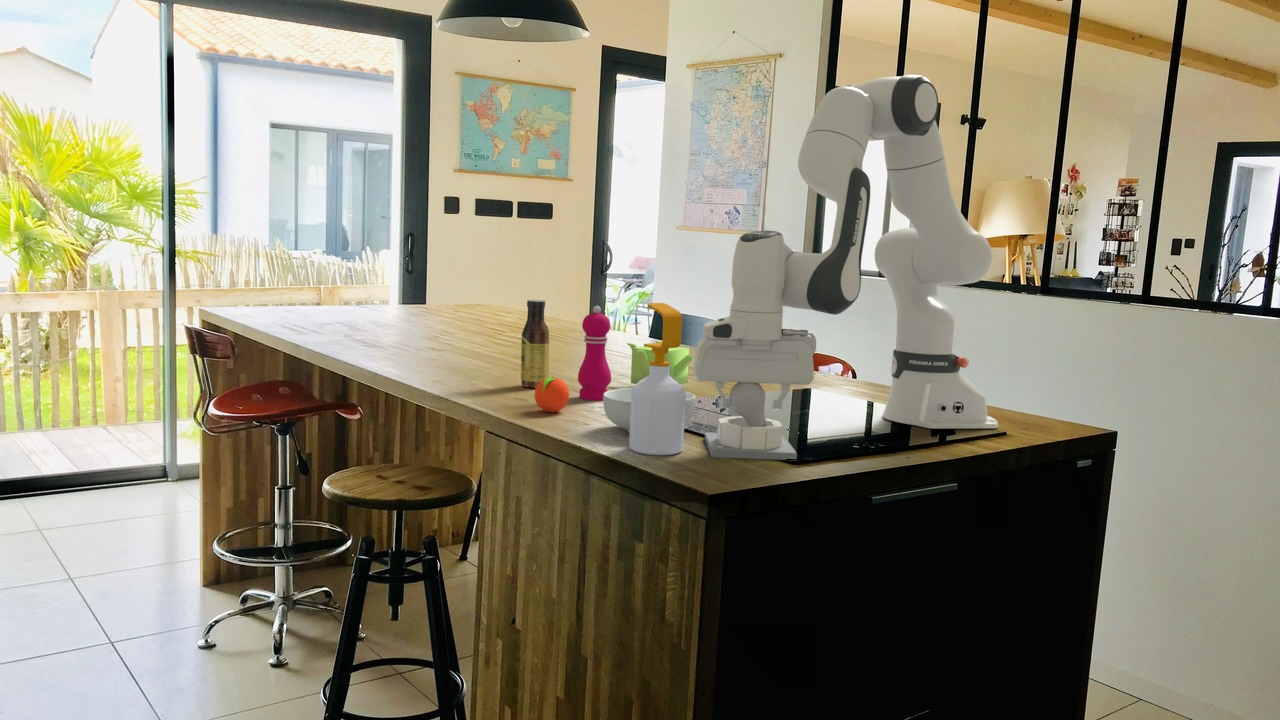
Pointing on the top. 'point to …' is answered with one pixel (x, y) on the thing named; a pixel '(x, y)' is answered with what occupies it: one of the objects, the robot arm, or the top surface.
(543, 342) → the sauce bottle
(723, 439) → the socket ring
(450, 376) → the top surface
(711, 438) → the mounting plate
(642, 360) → the kettle
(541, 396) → the clementine
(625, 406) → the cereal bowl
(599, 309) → the pepper mill
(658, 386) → the soap bottle
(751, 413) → the lightbulb
